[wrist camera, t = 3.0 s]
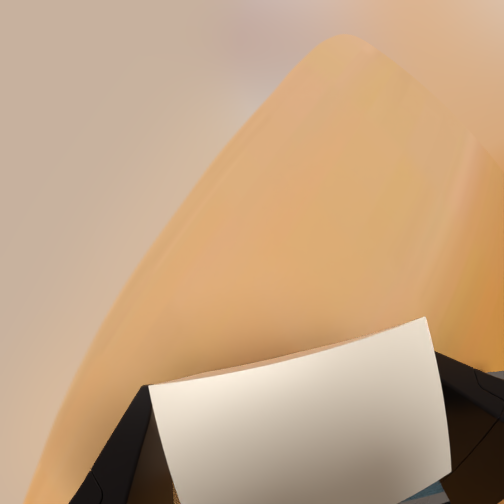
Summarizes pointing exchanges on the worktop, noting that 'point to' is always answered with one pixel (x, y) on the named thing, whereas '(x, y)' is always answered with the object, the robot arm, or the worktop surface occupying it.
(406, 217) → the worktop surface
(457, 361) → the robot arm
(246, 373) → the white rectangular block
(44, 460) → the worktop surface
